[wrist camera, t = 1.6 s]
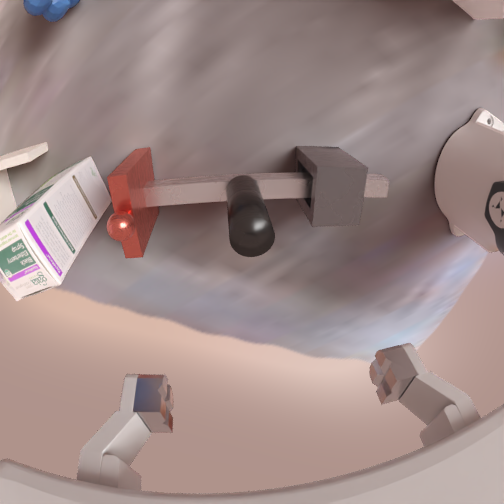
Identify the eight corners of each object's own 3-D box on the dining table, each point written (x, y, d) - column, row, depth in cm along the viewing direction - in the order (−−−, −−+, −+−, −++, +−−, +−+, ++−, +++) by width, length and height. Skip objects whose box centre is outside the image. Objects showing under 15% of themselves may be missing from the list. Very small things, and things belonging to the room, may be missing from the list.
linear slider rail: (372, 143, 28) (445, 187, 18) (364, 202, 32) (422, 266, 22) (132, 149, 26) (81, 199, 16) (142, 213, 30) (108, 289, 20)
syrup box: (91, 153, 26) (13, 218, 14) (114, 201, 29) (59, 288, 17) (53, 175, 27) (-25, 246, 15) (76, 219, 30) (16, 305, 18)
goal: (46, 142, 24) (27, 152, 21) (70, 238, 31) (57, 257, 28) (-2, 156, 24) (-21, 168, 20) (23, 243, 30) (9, 260, 27)
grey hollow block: (338, 147, 29) (368, 167, 23) (333, 194, 32) (359, 224, 26) (296, 146, 28) (317, 166, 23) (294, 195, 31) (312, 226, 25)
